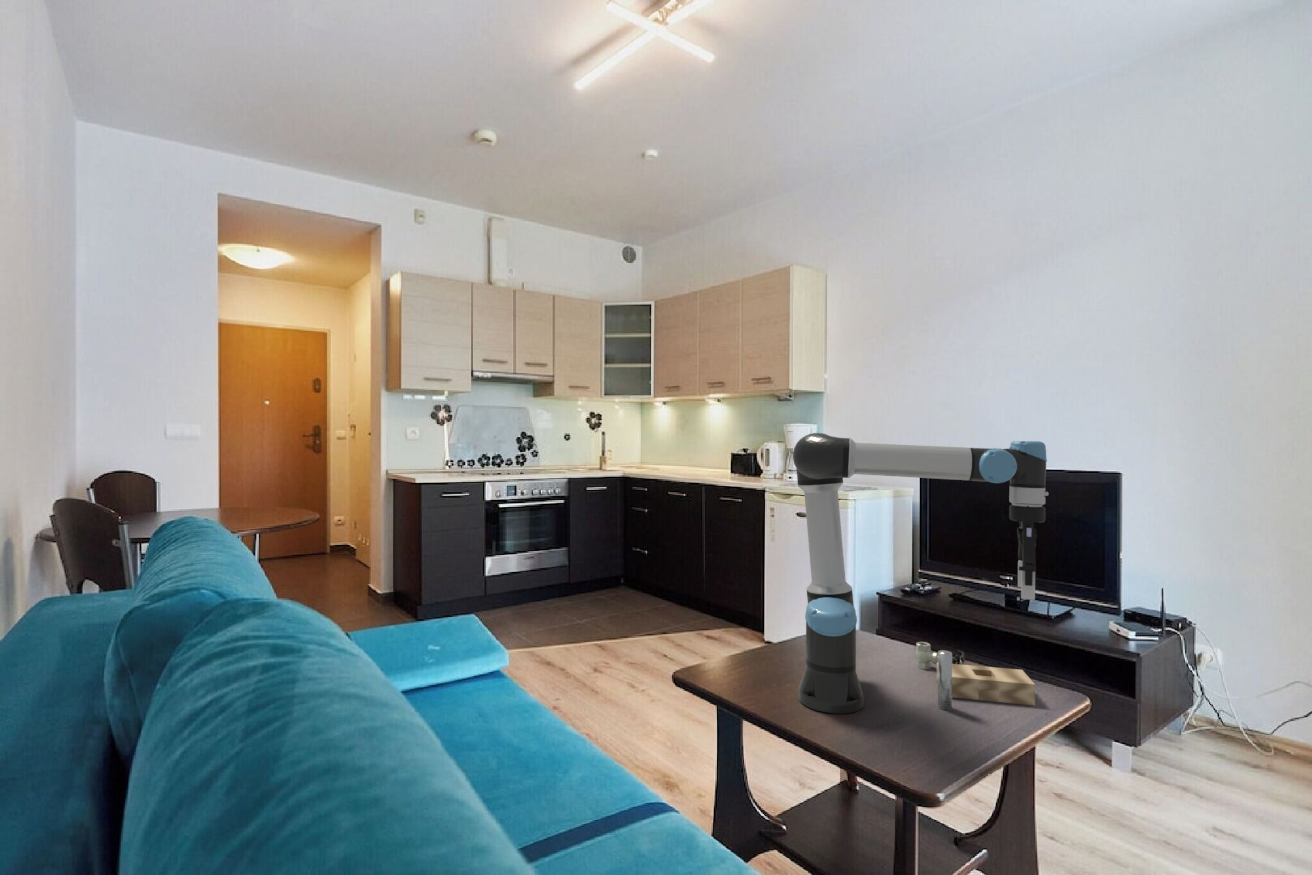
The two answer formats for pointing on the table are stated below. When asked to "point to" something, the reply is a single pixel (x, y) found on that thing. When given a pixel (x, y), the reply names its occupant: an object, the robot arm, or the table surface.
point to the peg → (945, 680)
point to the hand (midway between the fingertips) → (1025, 593)
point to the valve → (932, 656)
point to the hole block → (992, 684)
